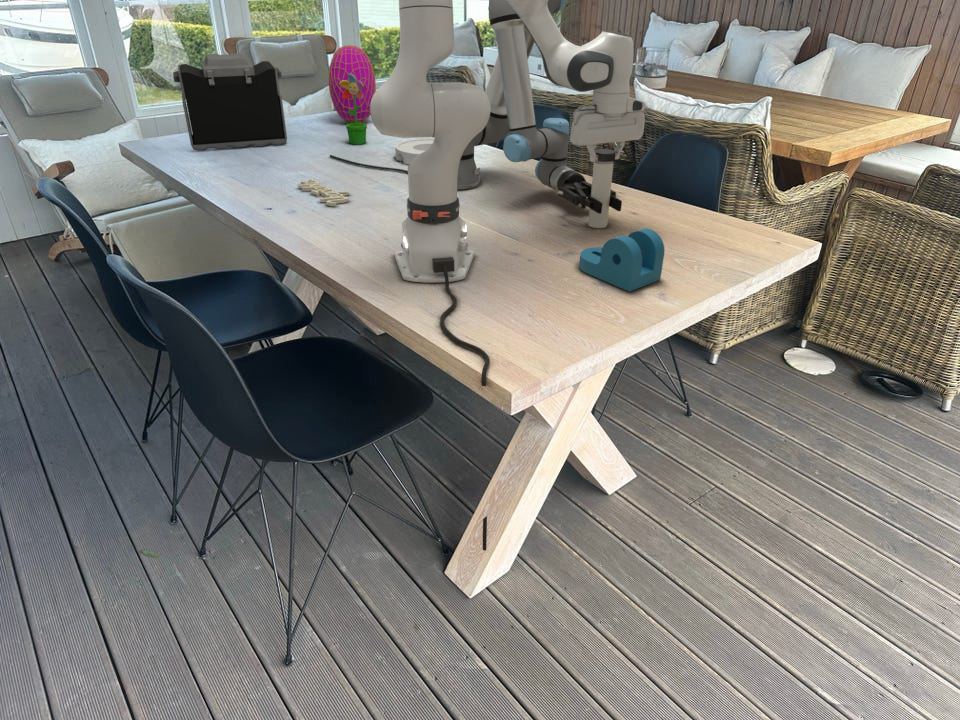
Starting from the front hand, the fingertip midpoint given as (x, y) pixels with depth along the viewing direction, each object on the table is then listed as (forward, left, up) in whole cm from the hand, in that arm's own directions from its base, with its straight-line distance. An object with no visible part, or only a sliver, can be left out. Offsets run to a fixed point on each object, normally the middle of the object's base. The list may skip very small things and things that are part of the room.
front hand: (604, 160), depth 176 cm
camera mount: (-32, +3, -17) cm, 37 cm away
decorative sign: (+30, +77, -17) cm, 84 cm away
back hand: (-5, -2, -11) cm, 12 cm away
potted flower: (+94, +74, -17) cm, 121 cm away
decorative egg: (+131, +79, -17) cm, 153 cm away
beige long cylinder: (0, 0, -17) cm, 17 cm away
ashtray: (+71, +47, -17) cm, 87 cm away
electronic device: (+96, +119, -17) cm, 153 cm away
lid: (0, 0, +2) cm, 2 cm away
